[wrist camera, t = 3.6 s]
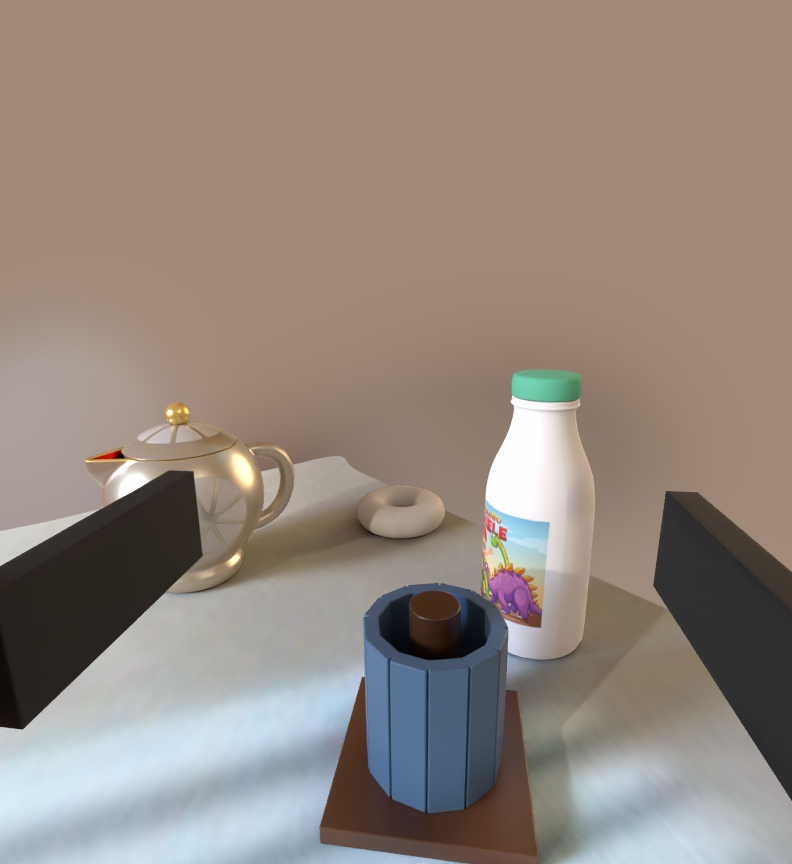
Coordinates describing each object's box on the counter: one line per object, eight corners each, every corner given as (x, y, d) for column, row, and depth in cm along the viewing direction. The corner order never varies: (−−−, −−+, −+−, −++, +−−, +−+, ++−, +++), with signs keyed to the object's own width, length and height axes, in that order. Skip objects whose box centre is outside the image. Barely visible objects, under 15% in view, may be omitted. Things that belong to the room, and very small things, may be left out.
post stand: (517, 703, 32) (525, 561, 30) (537, 873, 23) (552, 685, 20) (362, 689, 34) (358, 551, 31) (320, 843, 24) (309, 663, 22)
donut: (431, 505, 64) (352, 510, 62) (432, 478, 63) (351, 483, 62) (456, 540, 55) (363, 548, 53) (457, 510, 54) (363, 517, 52)
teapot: (120, 638, 39) (85, 430, 35) (97, 566, 50) (69, 400, 46) (328, 567, 49) (320, 399, 45) (272, 520, 60) (262, 381, 56)
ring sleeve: (512, 721, 30) (519, 600, 28) (480, 836, 23) (486, 689, 21) (399, 686, 33) (398, 573, 31) (343, 780, 26) (337, 645, 24)
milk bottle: (551, 596, 44) (569, 363, 39) (604, 655, 37) (634, 378, 32) (466, 607, 43) (473, 367, 38) (503, 671, 35) (518, 383, 30)
